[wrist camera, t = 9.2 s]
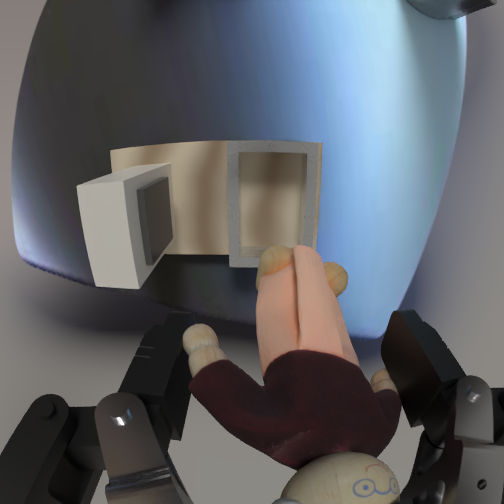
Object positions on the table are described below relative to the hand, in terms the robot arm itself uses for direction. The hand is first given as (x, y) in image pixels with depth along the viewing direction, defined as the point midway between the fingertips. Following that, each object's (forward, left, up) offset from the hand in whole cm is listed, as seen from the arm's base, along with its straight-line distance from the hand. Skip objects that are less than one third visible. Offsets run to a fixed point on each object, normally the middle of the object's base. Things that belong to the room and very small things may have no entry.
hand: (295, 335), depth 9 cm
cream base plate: (+6, 0, -22) cm, 23 cm away
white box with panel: (+12, 0, -20) cm, 24 cm away
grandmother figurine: (0, 0, -5) cm, 5 cm away
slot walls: (0, 0, -20) cm, 20 cm away
